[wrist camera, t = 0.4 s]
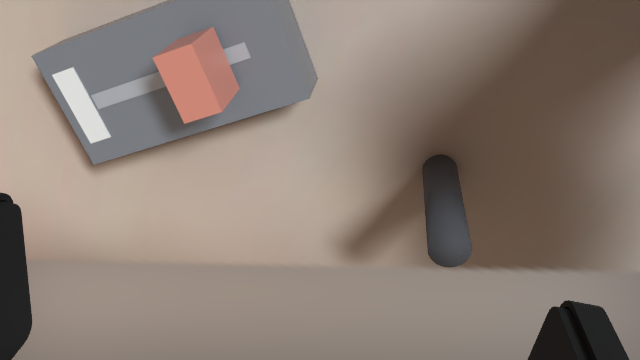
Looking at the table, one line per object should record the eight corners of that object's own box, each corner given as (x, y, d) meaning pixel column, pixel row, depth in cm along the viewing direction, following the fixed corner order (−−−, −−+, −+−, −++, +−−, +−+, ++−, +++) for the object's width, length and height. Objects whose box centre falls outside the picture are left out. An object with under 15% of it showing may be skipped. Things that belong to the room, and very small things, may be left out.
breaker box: (273, -40, 36) (259, -31, 33) (317, 78, 40) (309, 98, 36) (63, 40, 41) (30, 56, 37) (118, 141, 44) (92, 165, 40)
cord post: (452, 151, 41) (465, 227, 32) (460, 180, 42) (476, 262, 33) (418, 159, 41) (422, 236, 33) (427, 188, 42) (434, 270, 34)
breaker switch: (213, 26, 34) (191, 43, 31) (239, 88, 36) (222, 111, 32) (177, 39, 35) (152, 57, 31) (205, 99, 37) (184, 123, 33)
